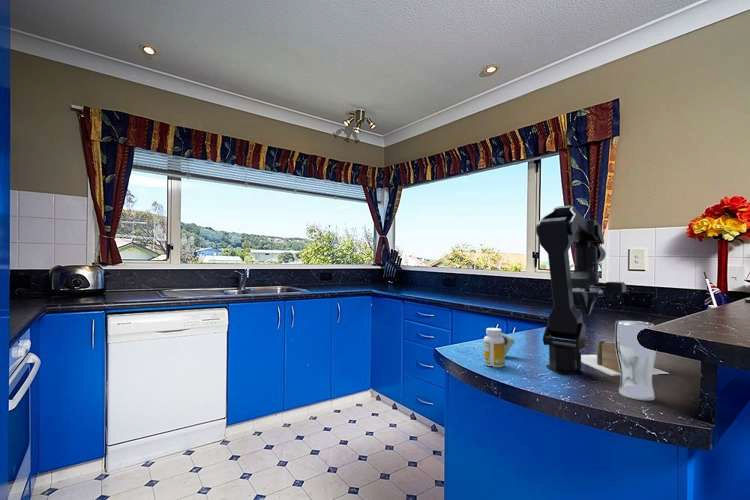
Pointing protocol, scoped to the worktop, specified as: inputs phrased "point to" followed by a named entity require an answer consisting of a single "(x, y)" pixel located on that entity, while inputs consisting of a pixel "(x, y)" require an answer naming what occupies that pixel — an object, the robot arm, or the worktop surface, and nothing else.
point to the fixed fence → (607, 356)
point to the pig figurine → (507, 342)
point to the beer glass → (634, 361)
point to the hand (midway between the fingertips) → (587, 314)
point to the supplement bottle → (494, 348)
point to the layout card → (592, 361)
